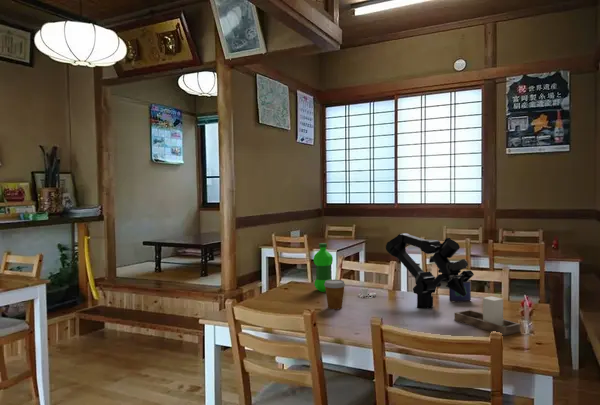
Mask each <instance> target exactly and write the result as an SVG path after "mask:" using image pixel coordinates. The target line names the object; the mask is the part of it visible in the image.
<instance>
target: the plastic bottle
mask: <svg viewBox="0 0 600 405" xmlns="http://www.w3.org/2000/svg"><path fill="white" fill-rule="evenodd" d="M318 248H319V250H318V251H317V252H316V253H315V254H314V256H313V264H314V265H315V281H314V287H315V289H317V290H318V292H322V293H326V292H325V291H326V289H325V285H324V284H325V281H326V280H332V278H331V276H332V275H331V273H332V272H331V269H332V268H331V266H332V265H333V261H334V260H333V255H332V254H331V253H330V252H329V251H328V250H327V248H328V243H326V242H321V243H320V242H319V243H318Z"/></svg>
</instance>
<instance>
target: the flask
mask: <svg viewBox="0 0 600 405" xmlns="http://www.w3.org/2000/svg"><path fill="white" fill-rule="evenodd" d="M471 283H472V282H471V280H468V281H467V282H465V283H463V284H464V288H465V292H466V295H465V296H462V295H460V294H459V293H457V292H456V291H454V290H452V289H450V288H448V289H449V290H448V291H449V299H448V300H449V302H452V301H469V302H471V301H470V300H472V295H471V294H472V293H471V292H472V289H471Z"/></svg>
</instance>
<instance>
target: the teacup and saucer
mask: <svg viewBox="0 0 600 405" xmlns="http://www.w3.org/2000/svg"><path fill="white" fill-rule="evenodd" d="M369 290H370V289H369V288H367V287H365V288H364V287H363V288H362V289H360V290H359V292H360V293H359V294H362V295H361V297H362V299H364V298H363V297H364V296H367V297H369V298H368V299H370V298H371V299H372V298H374V297H376V295H377V293H376V292H370V293H369ZM361 291H362V292H361ZM368 294H369V295H368ZM370 296H371V297H370ZM373 296H374V297H373Z"/></svg>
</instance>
